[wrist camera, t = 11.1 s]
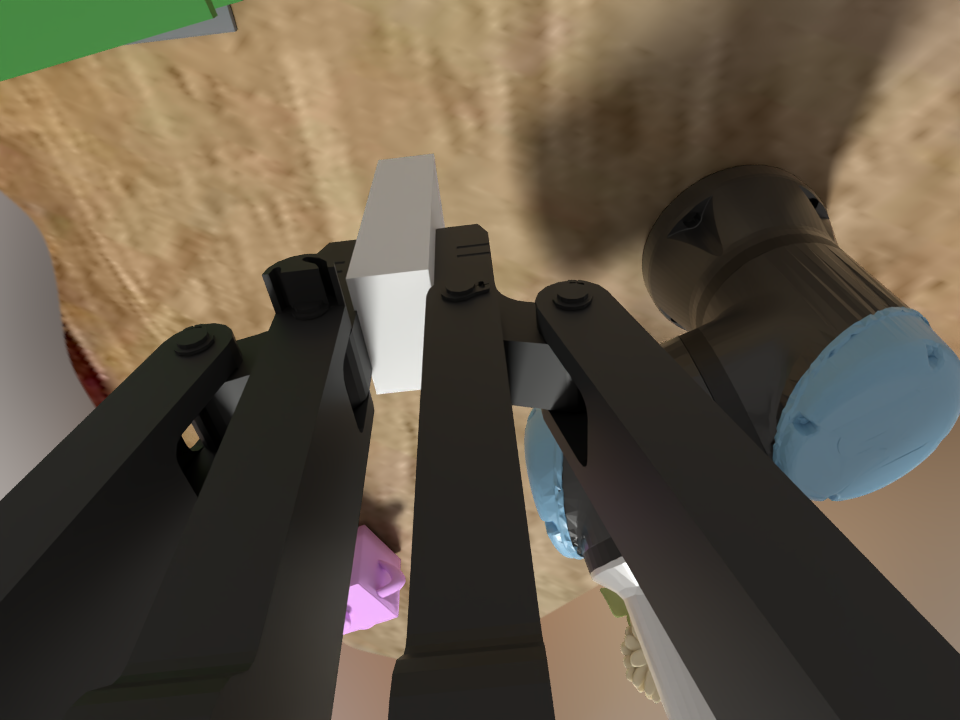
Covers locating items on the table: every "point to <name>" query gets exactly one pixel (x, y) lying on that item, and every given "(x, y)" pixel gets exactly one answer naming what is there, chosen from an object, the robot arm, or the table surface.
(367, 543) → the teapot
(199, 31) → the felt mat
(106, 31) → the hardback book
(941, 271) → the table surface
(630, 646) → the flower in vase
